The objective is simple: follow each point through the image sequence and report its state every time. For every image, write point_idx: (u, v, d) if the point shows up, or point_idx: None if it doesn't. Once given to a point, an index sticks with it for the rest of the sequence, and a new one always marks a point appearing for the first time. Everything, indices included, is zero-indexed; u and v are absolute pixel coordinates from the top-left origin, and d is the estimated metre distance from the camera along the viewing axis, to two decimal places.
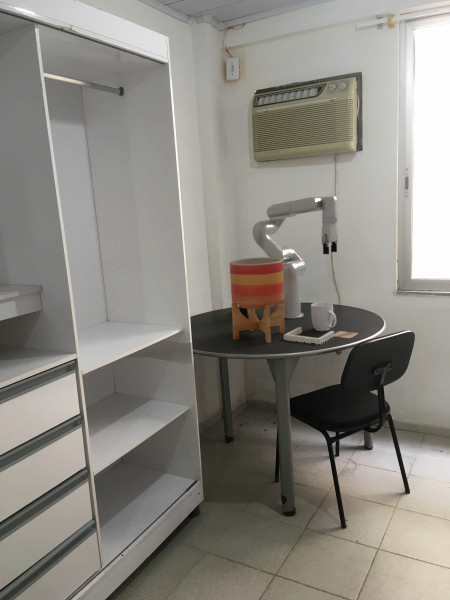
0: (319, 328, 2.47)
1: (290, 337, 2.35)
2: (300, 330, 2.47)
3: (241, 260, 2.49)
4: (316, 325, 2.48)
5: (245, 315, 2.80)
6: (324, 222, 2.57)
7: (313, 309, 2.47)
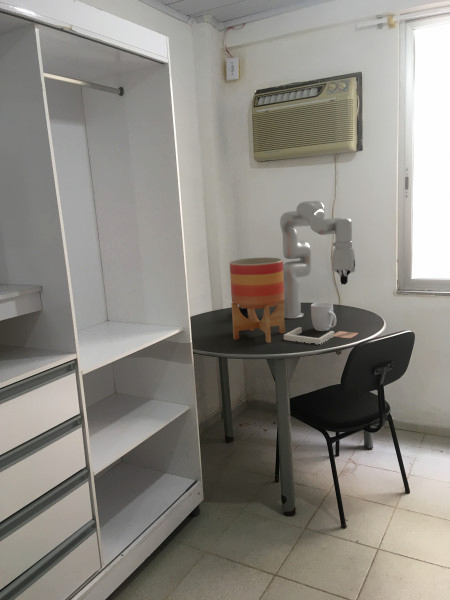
0: (319, 328, 2.47)
1: (290, 337, 2.35)
2: (300, 330, 2.47)
3: (241, 260, 2.49)
4: (316, 325, 2.48)
5: (245, 315, 2.80)
6: (349, 247, 2.28)
7: (313, 309, 2.47)
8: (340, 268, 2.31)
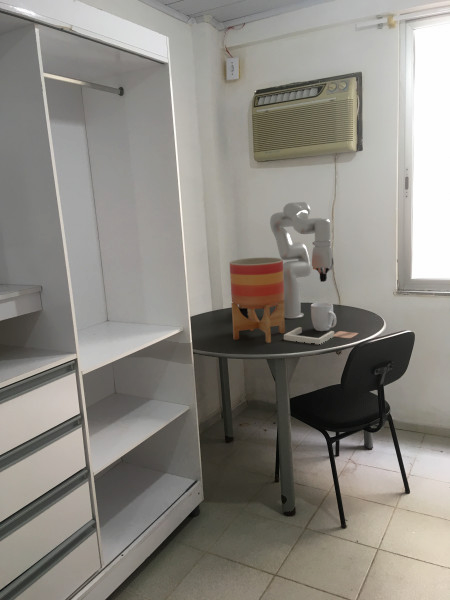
0: (319, 328, 2.47)
1: (290, 337, 2.35)
2: (300, 330, 2.47)
3: (241, 260, 2.49)
4: (316, 325, 2.48)
5: (245, 315, 2.79)
6: (327, 246, 2.39)
7: (313, 309, 2.47)
8: (319, 266, 2.42)
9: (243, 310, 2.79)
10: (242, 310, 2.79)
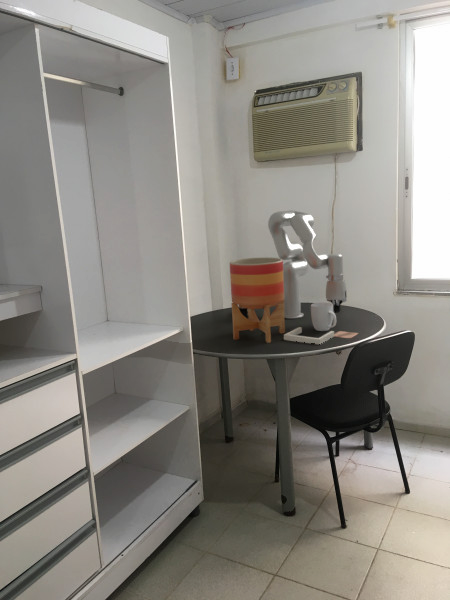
0: (319, 328, 2.47)
1: (290, 337, 2.35)
2: (300, 330, 2.47)
3: (241, 260, 2.49)
4: (316, 325, 2.48)
5: (245, 315, 2.79)
6: (341, 279, 2.54)
7: (313, 309, 2.47)
8: (333, 298, 2.57)
9: (243, 310, 2.79)
10: (242, 310, 2.79)
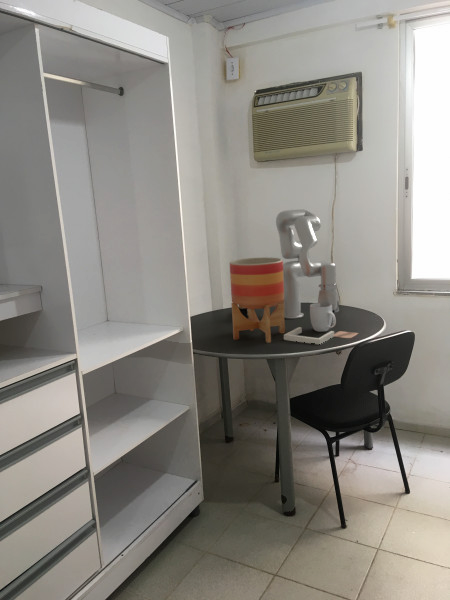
0: (318, 329, 2.47)
1: (290, 337, 2.35)
2: (300, 330, 2.47)
3: (241, 260, 2.49)
4: (315, 325, 2.47)
5: (245, 315, 2.79)
6: (333, 289, 2.48)
7: (312, 309, 2.46)
8: None
9: (243, 310, 2.79)
10: (242, 310, 2.79)
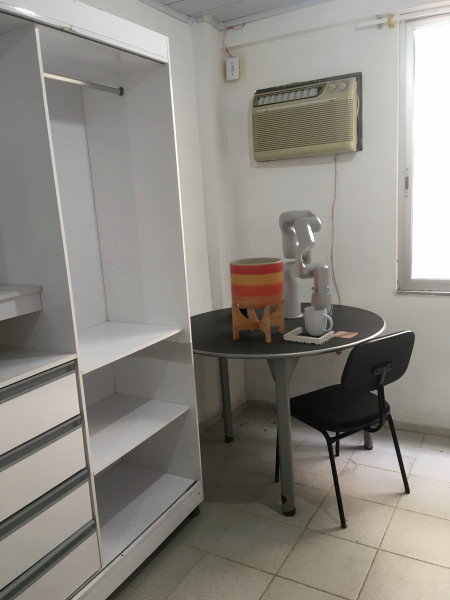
0: (315, 333, 2.39)
1: (290, 337, 2.35)
2: (300, 330, 2.47)
3: (241, 260, 2.49)
4: (311, 330, 2.39)
5: (245, 315, 2.79)
6: (326, 292, 2.42)
7: (308, 313, 2.38)
8: None
9: (243, 310, 2.78)
10: (242, 310, 2.79)
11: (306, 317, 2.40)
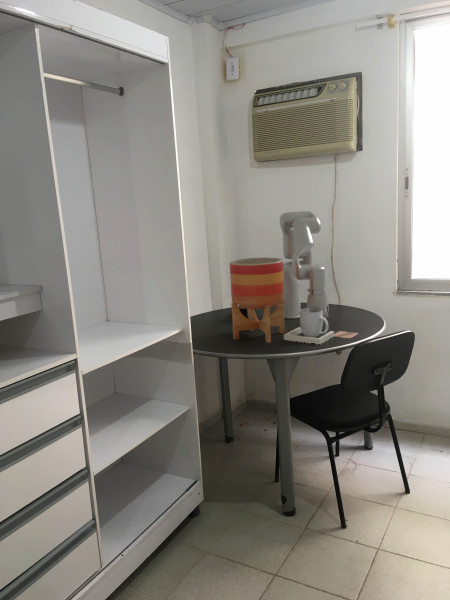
0: (310, 335, 2.36)
1: (290, 337, 2.35)
2: (300, 330, 2.47)
3: (241, 260, 2.49)
4: (307, 332, 2.36)
5: (245, 315, 2.79)
6: (322, 294, 2.38)
7: (303, 315, 2.35)
8: None
9: (243, 310, 2.78)
10: (242, 310, 2.78)
11: (301, 319, 2.36)
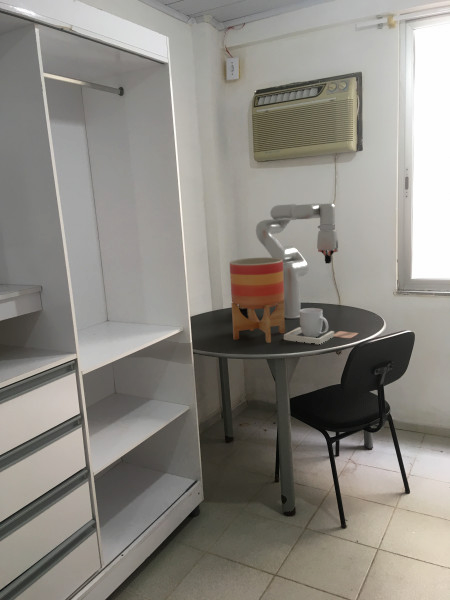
0: (310, 335, 2.36)
1: (290, 337, 2.35)
2: (300, 330, 2.47)
3: (241, 260, 2.49)
4: (306, 332, 2.36)
5: (245, 316, 2.78)
6: (332, 229, 2.52)
7: (303, 315, 2.34)
8: (324, 248, 2.55)
9: (243, 310, 2.78)
10: (242, 310, 2.78)
11: (301, 319, 2.36)
